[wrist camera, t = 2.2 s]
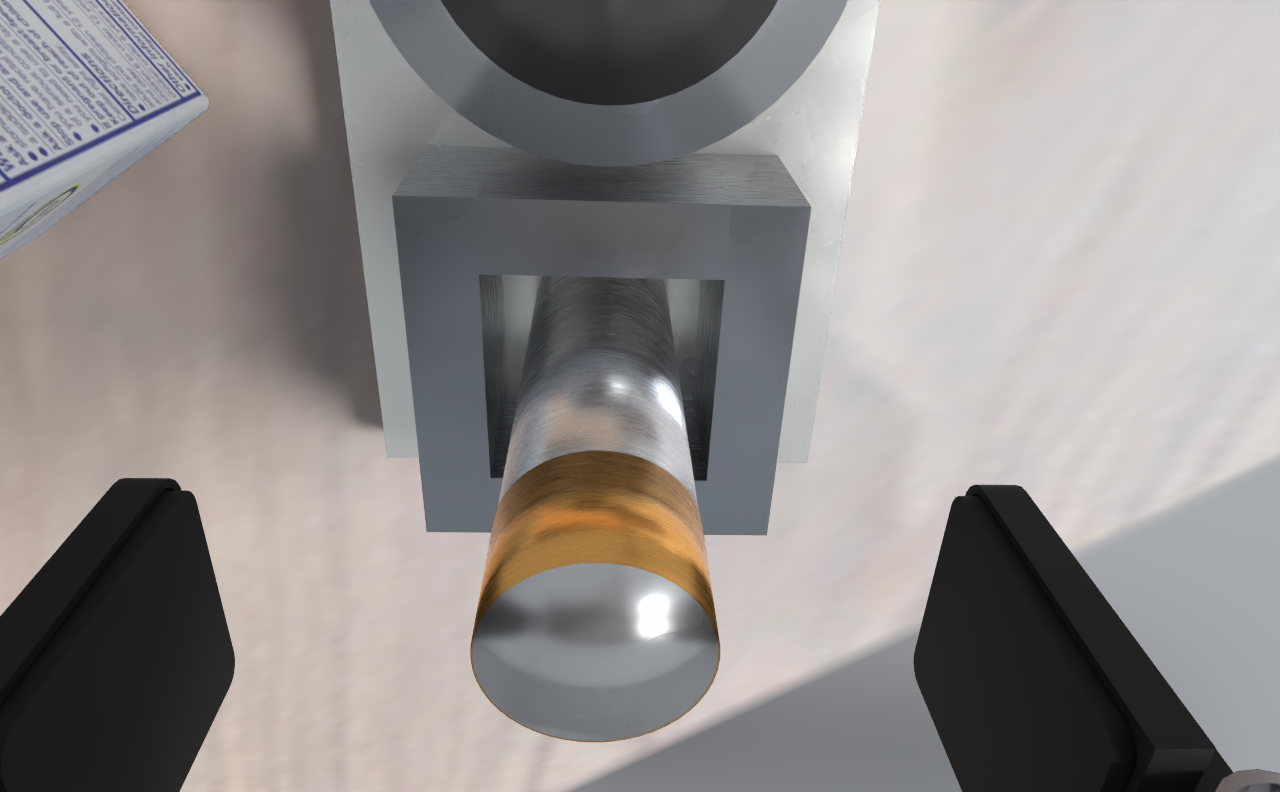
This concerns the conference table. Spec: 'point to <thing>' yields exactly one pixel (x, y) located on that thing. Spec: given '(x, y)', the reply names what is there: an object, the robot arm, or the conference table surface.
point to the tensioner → (601, 213)
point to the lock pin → (597, 527)
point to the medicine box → (78, 106)
